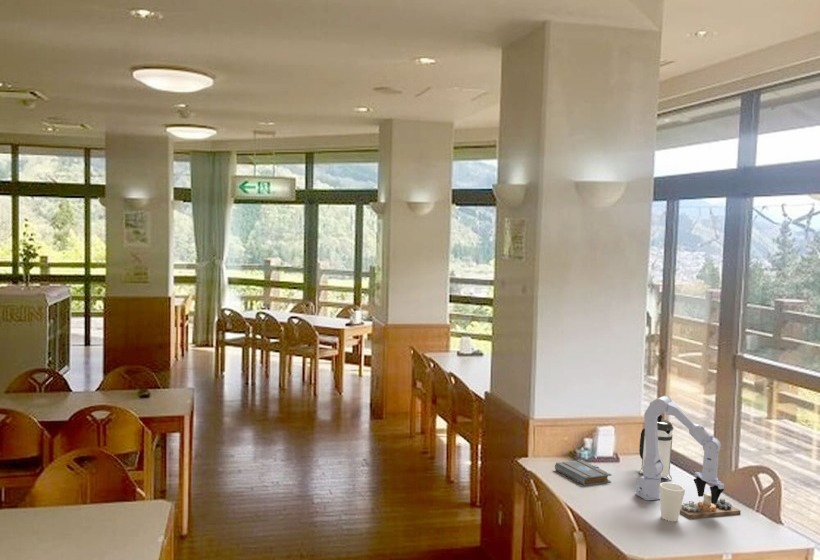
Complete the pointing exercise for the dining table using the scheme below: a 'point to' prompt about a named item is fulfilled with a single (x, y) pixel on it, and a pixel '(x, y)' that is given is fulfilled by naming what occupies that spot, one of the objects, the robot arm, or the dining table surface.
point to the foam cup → (671, 500)
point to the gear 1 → (691, 507)
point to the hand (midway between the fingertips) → (707, 499)
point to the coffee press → (660, 445)
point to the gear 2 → (723, 504)
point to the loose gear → (707, 503)
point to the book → (583, 472)
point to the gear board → (709, 512)
